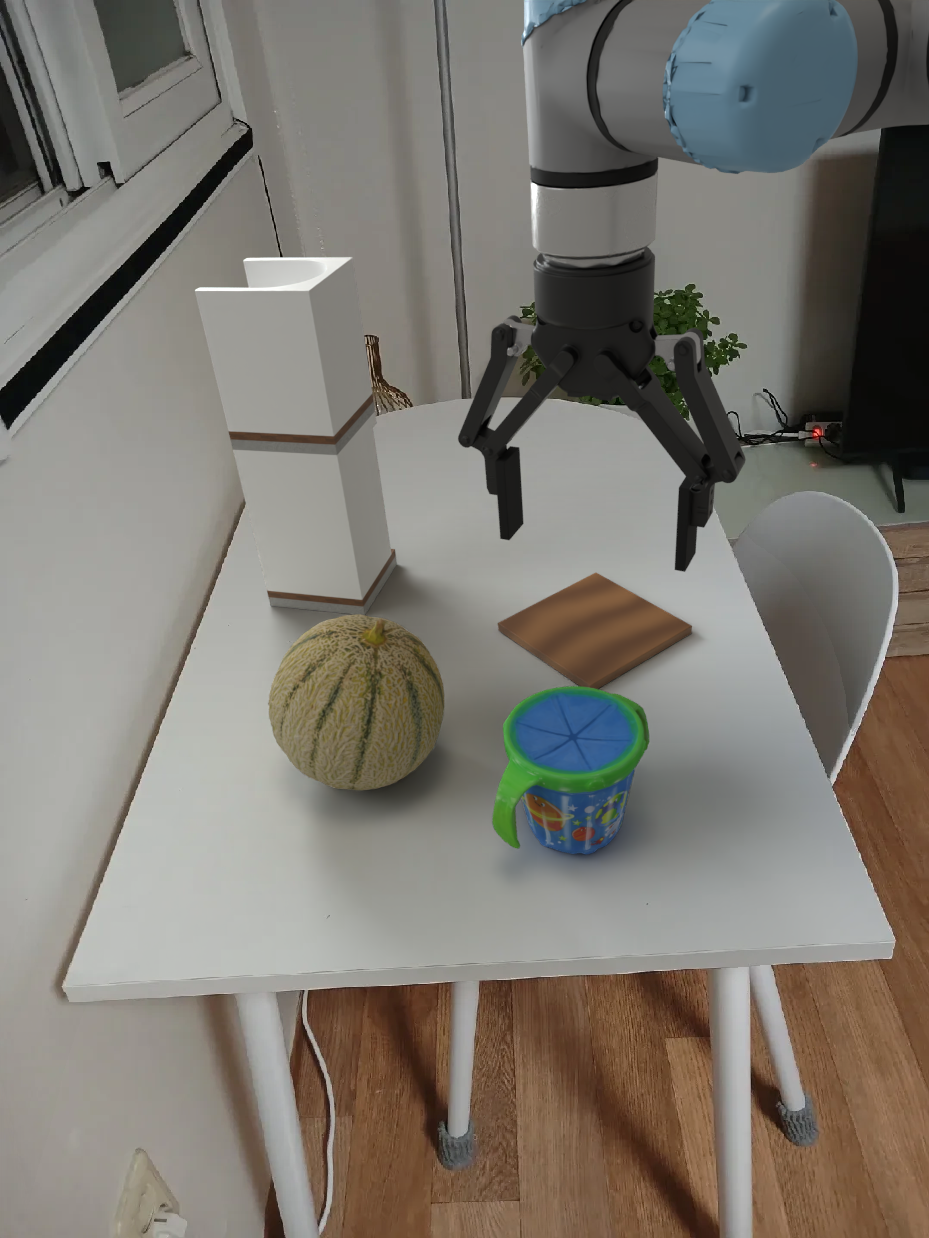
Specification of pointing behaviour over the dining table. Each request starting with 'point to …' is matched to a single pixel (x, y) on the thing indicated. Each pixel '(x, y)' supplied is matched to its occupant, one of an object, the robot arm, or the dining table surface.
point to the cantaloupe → (357, 702)
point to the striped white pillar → (303, 429)
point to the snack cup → (570, 767)
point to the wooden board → (594, 630)
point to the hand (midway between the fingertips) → (595, 546)
